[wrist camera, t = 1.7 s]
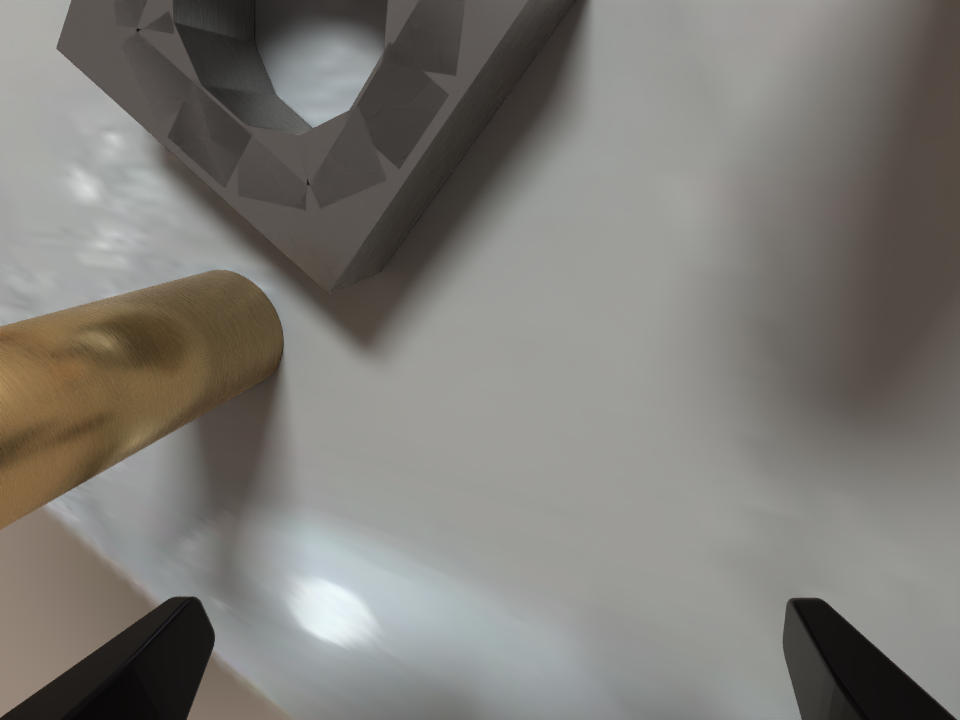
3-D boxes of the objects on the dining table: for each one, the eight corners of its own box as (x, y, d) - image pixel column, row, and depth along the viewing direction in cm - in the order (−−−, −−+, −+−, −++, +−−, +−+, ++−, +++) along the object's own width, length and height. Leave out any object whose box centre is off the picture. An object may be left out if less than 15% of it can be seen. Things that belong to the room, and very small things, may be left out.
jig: (594, -26, 16) (574, -69, 13) (380, 271, 21) (328, 293, 18) (293, -297, 16) (200, -406, 13) (149, 63, 21) (56, 48, 18)
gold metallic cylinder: (299, 380, 23) (-73, 612, 12) (203, 390, 25) (-205, 602, 13) (262, 259, 22) (-200, 384, 10) (164, 278, 24) (-329, 404, 12)
